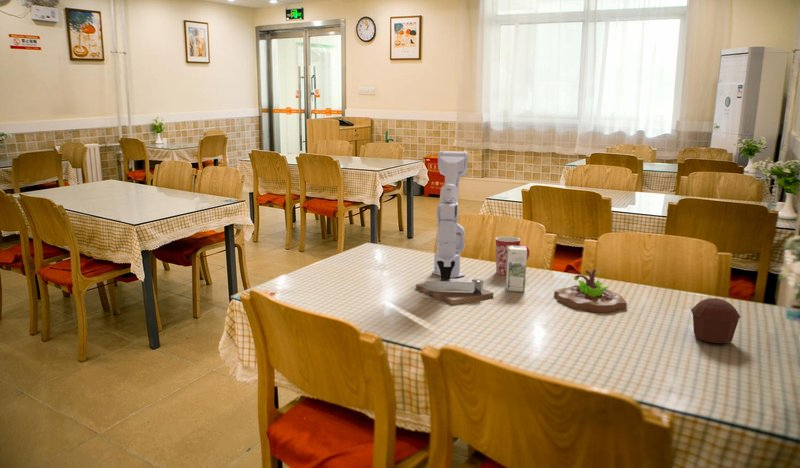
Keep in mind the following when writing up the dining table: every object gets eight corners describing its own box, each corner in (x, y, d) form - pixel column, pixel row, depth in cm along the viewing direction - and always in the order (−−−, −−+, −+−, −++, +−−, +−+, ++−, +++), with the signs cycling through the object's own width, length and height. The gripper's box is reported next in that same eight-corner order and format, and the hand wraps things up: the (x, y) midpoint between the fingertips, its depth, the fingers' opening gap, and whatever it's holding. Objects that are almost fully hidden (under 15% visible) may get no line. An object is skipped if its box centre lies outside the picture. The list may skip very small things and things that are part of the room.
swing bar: (482, 289, 184) (482, 279, 183) (483, 292, 180) (483, 282, 179) (426, 287, 184) (426, 277, 184) (425, 290, 181) (426, 280, 180)
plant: (576, 314, 169) (579, 277, 167) (546, 294, 188) (548, 261, 186) (637, 311, 173) (641, 274, 171) (602, 292, 192) (605, 259, 190)
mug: (489, 275, 209) (490, 238, 207) (500, 270, 217) (502, 235, 214) (521, 281, 202) (523, 243, 200) (532, 276, 209) (534, 239, 207)
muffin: (694, 326, 160) (698, 291, 158) (740, 336, 153) (745, 299, 151) (683, 338, 151) (687, 301, 149) (731, 349, 144) (736, 310, 142)
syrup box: (522, 287, 195) (525, 245, 192) (524, 292, 189) (527, 249, 186) (505, 287, 195) (507, 244, 192) (507, 292, 189) (509, 248, 187)
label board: (415, 288, 192) (416, 282, 191) (454, 282, 200) (454, 276, 200) (452, 304, 175) (452, 298, 175) (493, 297, 183) (493, 291, 183)
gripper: (461, 246, 174) (459, 290, 177) (457, 237, 188) (456, 277, 191) (437, 246, 174) (436, 289, 177) (436, 236, 189) (434, 277, 191)
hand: (445, 283), depth 184 cm, fingers closed, pressing on swing bar
